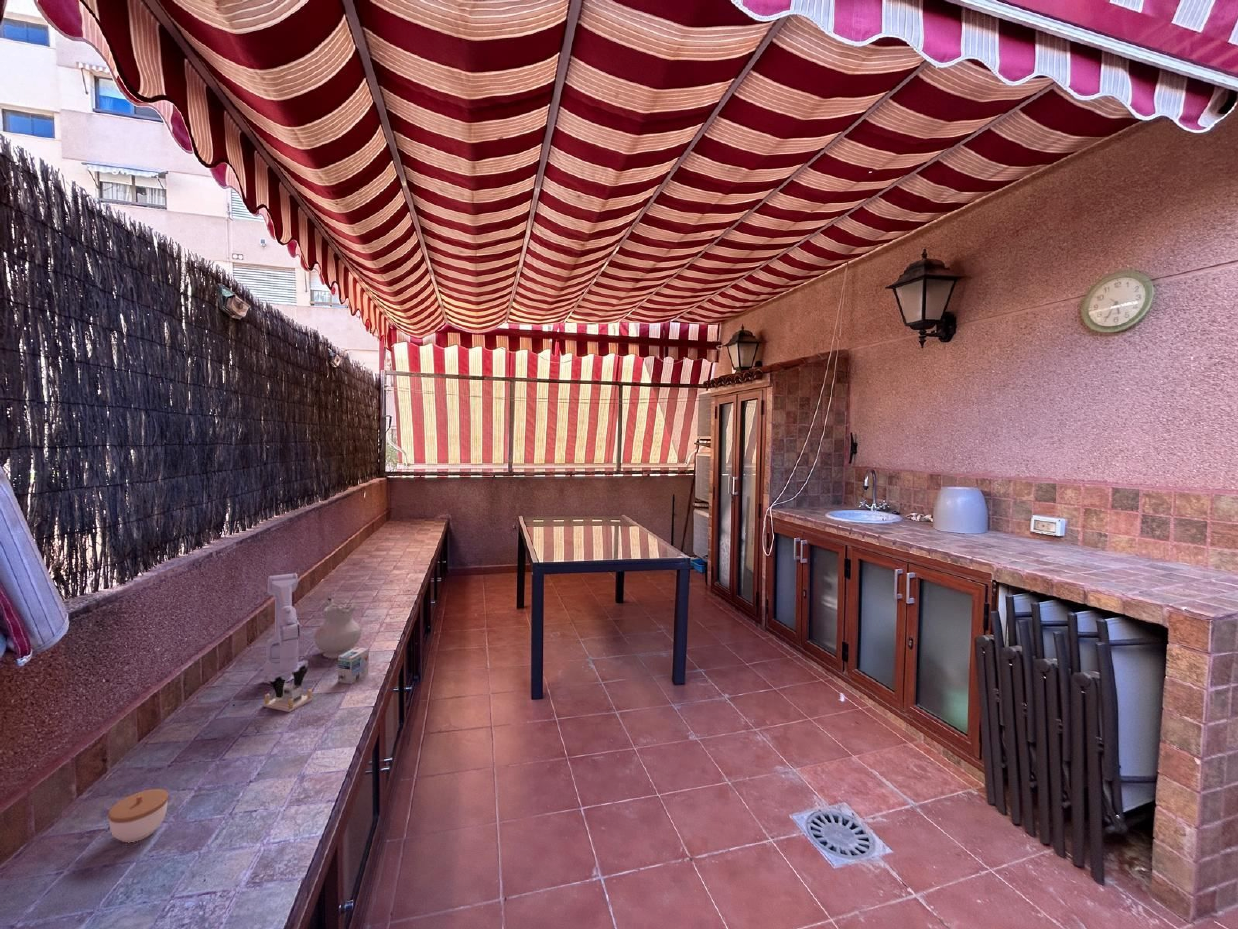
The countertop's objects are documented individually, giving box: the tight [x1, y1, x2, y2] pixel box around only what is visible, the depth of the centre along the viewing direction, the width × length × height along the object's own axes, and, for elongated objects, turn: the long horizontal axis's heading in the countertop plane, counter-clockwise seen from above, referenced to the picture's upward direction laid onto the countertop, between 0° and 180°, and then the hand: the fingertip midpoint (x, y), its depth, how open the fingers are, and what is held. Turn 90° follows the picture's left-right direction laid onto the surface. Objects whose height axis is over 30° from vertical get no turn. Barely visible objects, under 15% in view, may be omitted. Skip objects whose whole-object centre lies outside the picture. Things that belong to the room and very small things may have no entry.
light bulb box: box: [337, 646, 370, 685], centre depth 214 cm, size 11×7×11 cm, turn 168°
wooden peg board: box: [263, 689, 313, 713], centre depth 191 cm, size 13×10×4 cm
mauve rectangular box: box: [274, 682, 303, 704], centre depth 191 cm, size 8×4×5 cm, turn 74°
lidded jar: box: [108, 788, 169, 844], centre depth 126 cm, size 11×11×9 cm
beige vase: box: [313, 596, 363, 660], centre depth 238 cm, size 22×20×25 cm
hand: (288, 692), depth 191 cm, fingers open, 7 cm apart
